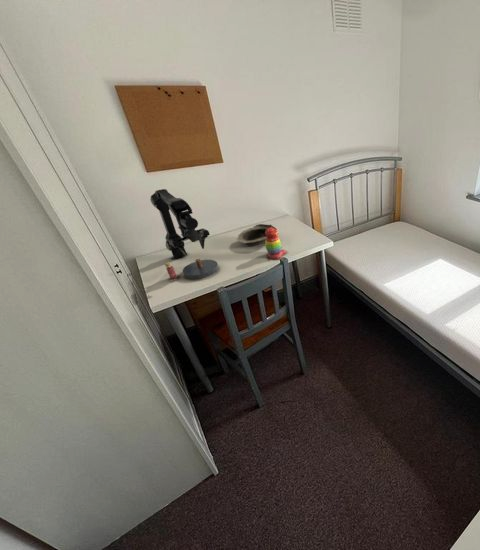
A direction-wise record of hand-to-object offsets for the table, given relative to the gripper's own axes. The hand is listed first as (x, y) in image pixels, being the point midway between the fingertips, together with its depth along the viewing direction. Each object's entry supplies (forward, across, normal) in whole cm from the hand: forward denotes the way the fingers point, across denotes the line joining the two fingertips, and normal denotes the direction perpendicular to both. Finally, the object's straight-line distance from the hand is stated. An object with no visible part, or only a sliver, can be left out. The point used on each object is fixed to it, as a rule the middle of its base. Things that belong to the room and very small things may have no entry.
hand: (194, 251), depth 157 cm
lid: (+10, 0, 0) cm, 10 cm away
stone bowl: (+13, +43, +6) cm, 46 cm away
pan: (+13, 0, 0) cm, 13 cm away
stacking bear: (+13, +37, -18) cm, 44 cm away
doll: (+13, -12, +7) cm, 19 cm away
